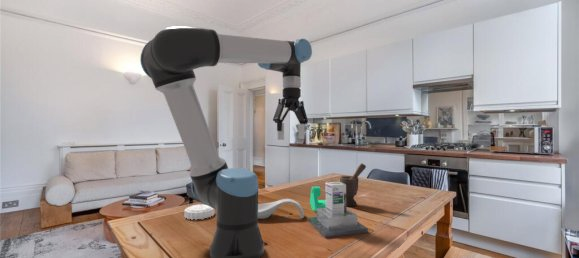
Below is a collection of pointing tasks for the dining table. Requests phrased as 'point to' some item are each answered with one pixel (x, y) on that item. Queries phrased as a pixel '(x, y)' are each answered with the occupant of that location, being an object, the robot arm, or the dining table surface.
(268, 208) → the spoon rest
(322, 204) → the camera mount
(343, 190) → the syrup box
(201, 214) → the mooncake
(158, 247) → the dining table surface
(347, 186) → the mortar and pestle
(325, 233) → the docking sleeve
